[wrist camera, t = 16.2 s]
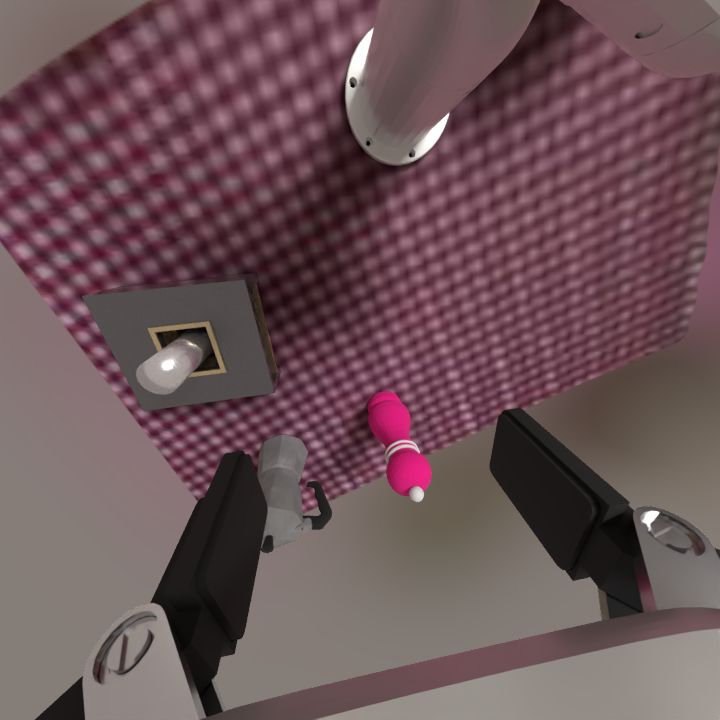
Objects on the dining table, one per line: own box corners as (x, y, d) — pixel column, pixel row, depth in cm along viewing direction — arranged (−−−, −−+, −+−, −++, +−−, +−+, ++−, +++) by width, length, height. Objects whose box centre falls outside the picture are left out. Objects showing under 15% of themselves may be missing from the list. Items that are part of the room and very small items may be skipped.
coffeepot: (251, 472, 53) (220, 576, 36) (245, 434, 49) (207, 533, 32) (329, 467, 55) (332, 564, 39) (329, 431, 51) (333, 522, 35)
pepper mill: (365, 422, 51) (389, 524, 33) (364, 390, 48) (389, 483, 30) (402, 418, 52) (444, 515, 34) (403, 386, 49) (450, 474, 31)
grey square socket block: (256, 272, 37) (243, 280, 31) (280, 372, 44) (274, 394, 38) (121, 286, 36) (79, 296, 30) (167, 387, 43) (142, 412, 37)
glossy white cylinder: (202, 313, 39) (145, 351, 26) (230, 331, 40) (188, 374, 28) (188, 336, 40) (127, 382, 27) (215, 351, 41) (169, 402, 29)
